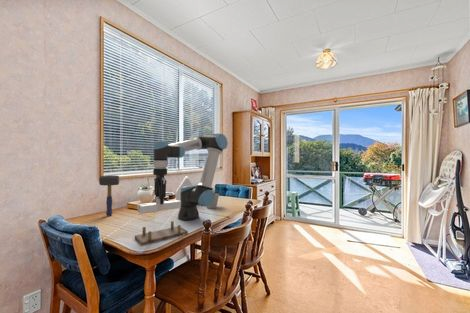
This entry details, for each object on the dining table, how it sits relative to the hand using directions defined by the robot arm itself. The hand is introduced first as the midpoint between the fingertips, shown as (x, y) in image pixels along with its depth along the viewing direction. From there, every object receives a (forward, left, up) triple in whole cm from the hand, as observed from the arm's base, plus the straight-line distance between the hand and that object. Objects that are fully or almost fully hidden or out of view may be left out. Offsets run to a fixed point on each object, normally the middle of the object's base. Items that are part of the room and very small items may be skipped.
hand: (159, 208), depth 124 cm
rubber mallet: (+14, -61, -15) cm, 64 cm away
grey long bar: (0, 0, -1) cm, 1 cm away
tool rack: (-1, +3, -15) cm, 15 cm away
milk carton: (-51, -64, -15) cm, 83 cm away
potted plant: (-60, -36, -15) cm, 71 cm away
